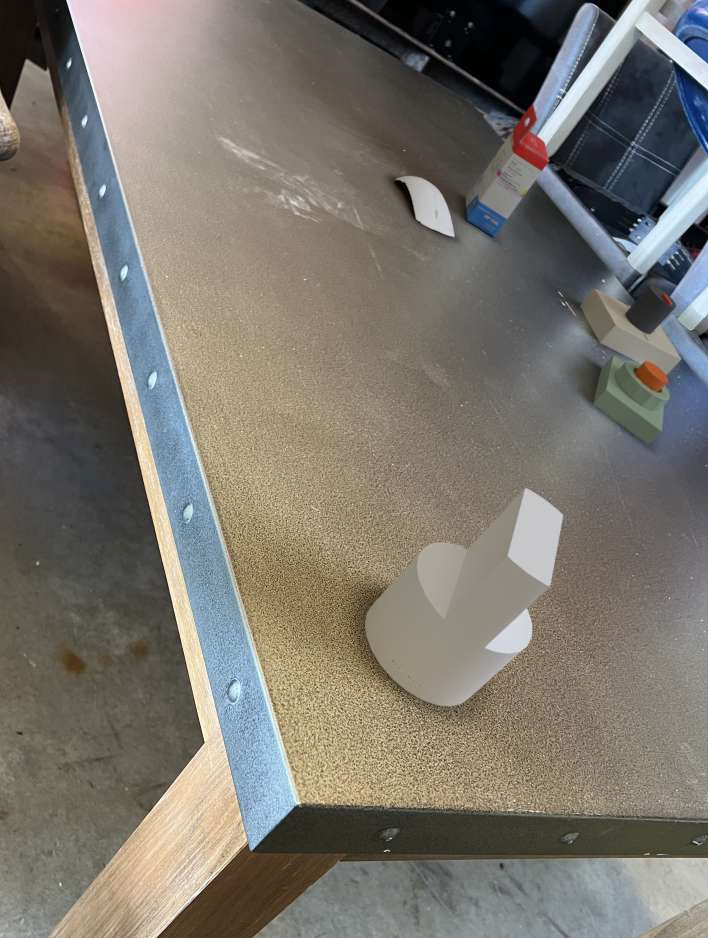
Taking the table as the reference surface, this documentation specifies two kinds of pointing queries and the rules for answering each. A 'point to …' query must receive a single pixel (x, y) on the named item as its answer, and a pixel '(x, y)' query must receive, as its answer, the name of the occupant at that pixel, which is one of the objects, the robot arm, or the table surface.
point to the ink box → (507, 177)
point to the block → (630, 399)
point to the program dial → (650, 309)
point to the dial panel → (627, 332)
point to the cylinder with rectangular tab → (466, 605)
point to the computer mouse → (429, 205)
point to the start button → (651, 376)
